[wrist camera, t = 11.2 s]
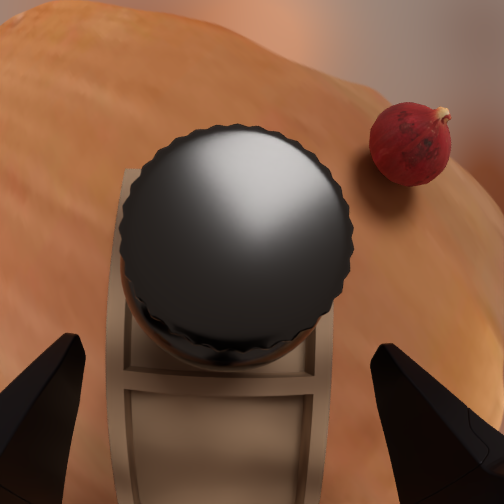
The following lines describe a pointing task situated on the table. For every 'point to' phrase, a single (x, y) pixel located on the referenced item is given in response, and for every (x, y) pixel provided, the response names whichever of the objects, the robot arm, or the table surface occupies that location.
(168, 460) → the holder
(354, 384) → the table surface
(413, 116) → the onion
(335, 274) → the supplement bottle
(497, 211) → the table surface
